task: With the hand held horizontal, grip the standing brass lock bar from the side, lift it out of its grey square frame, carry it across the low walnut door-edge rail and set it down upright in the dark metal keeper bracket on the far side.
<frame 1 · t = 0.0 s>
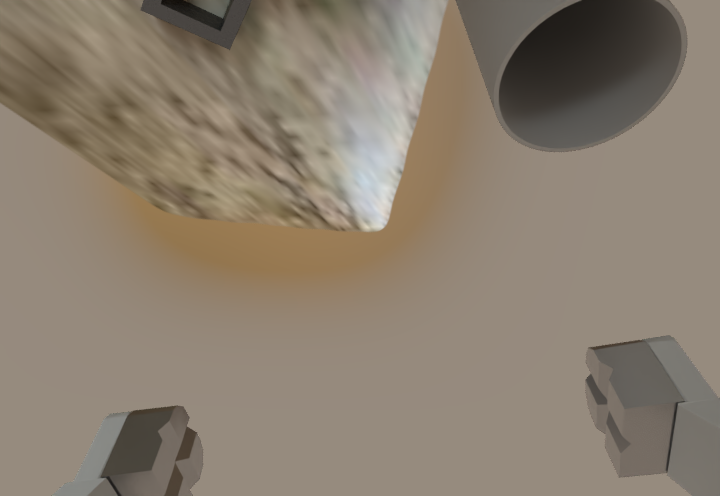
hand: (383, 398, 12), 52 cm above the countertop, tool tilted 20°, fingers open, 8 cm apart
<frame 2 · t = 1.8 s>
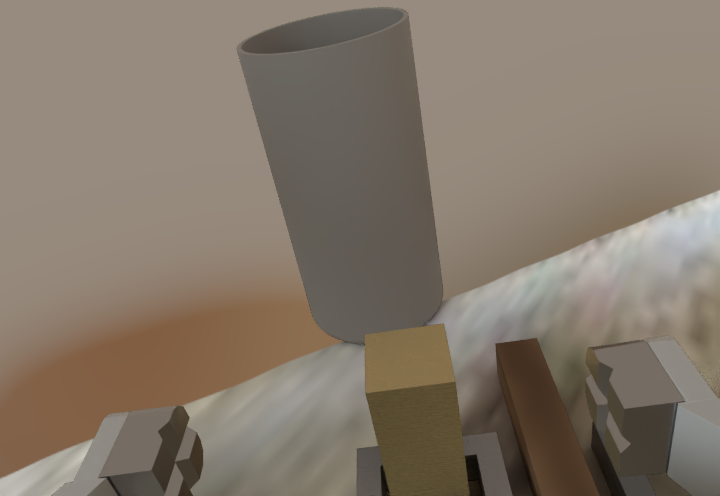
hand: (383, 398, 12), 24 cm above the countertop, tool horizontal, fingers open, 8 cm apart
lock bar: (424, 453, 31), in the grey square frame
tall grey cup: (378, 304, 54), on the countertop
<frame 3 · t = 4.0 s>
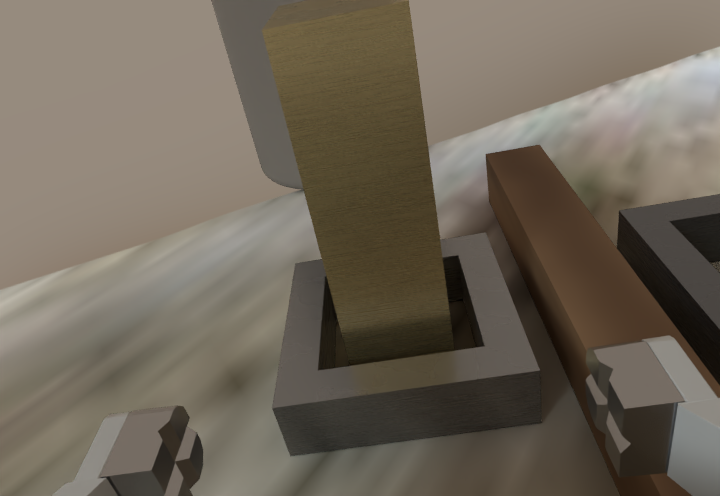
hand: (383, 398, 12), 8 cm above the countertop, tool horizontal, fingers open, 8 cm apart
lock bar: (376, 209, 21), in the grey square frame
grey square frame: (404, 353, 24), on the countertop
door-edge rail: (576, 311, 24), on the countertop
tall grey cup: (343, 158, 44), on the countertop
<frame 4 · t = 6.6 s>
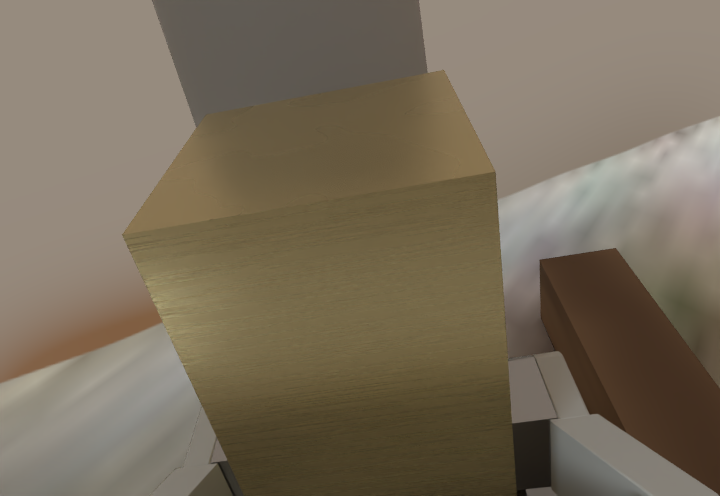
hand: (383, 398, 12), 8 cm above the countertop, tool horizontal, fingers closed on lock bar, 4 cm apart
lock bar: (393, 468, 11), in the grey square frame, touching gripper
tall grey cup: (342, 229, 35), on the countertop
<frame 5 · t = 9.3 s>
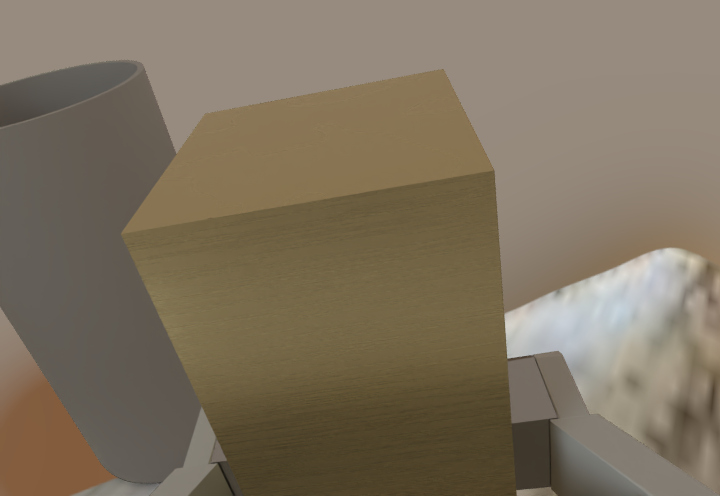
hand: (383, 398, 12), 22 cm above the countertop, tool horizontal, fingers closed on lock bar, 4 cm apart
lock bar: (393, 468, 11), point 21 cm above the countertop, touching gripper
tall grey cup: (184, 418, 44), on the countertop
when the fingers open (9 cm above the countertop, at t = 12.1 s): lock bar drops 1 cm, resting in keeper bracket.
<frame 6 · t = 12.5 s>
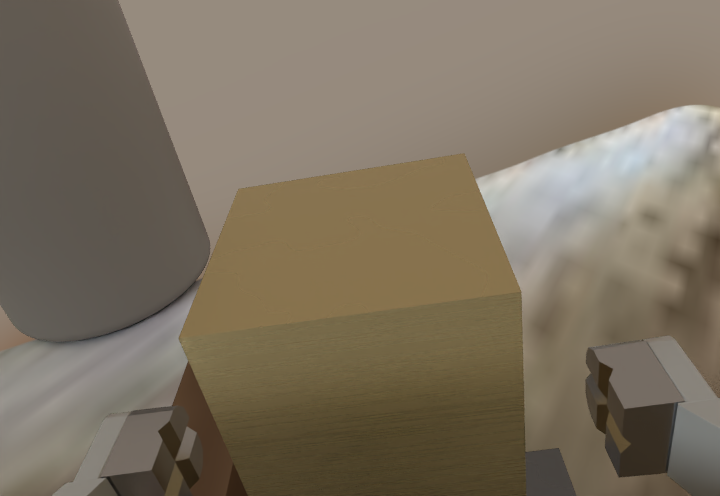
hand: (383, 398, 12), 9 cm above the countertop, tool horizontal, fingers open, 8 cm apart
tall grey cup: (120, 284, 37), on the countertop
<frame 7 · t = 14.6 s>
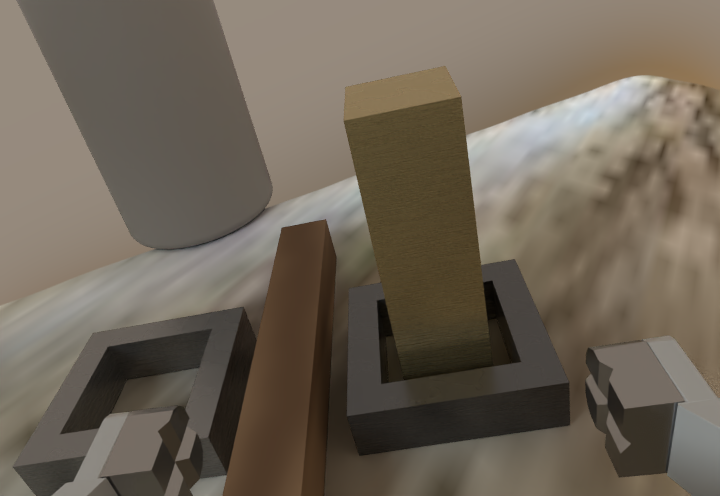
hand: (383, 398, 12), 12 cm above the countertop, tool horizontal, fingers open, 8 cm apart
lock bar: (425, 250, 24), in the keeper bracket
grey square frame: (161, 411, 30), on the countertop
door-edge rail: (302, 375, 30), on the countertop
keeper bracket: (448, 366, 28), on the countertop
tall grey cup: (206, 215, 50), on the countertop
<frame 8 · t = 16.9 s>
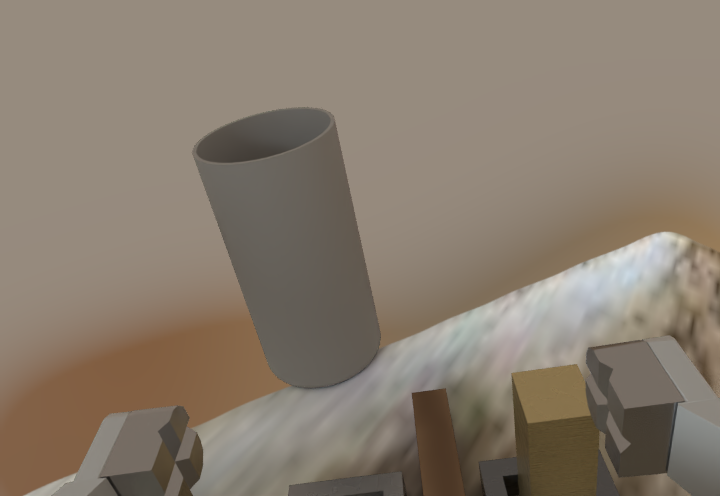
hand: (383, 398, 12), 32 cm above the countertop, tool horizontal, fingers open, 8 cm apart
lock bar: (554, 468, 37), in the keeper bracket
tall grey cup: (325, 350, 62), on the countertop
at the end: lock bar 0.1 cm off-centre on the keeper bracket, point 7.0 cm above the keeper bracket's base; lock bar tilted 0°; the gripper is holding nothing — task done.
